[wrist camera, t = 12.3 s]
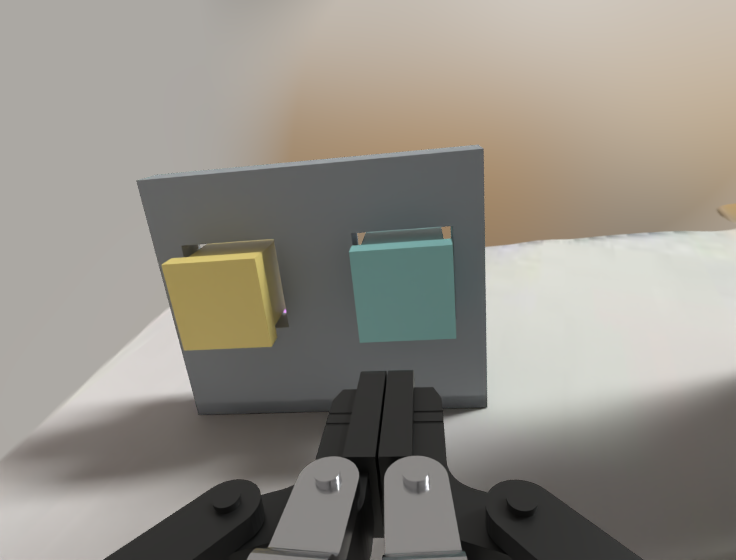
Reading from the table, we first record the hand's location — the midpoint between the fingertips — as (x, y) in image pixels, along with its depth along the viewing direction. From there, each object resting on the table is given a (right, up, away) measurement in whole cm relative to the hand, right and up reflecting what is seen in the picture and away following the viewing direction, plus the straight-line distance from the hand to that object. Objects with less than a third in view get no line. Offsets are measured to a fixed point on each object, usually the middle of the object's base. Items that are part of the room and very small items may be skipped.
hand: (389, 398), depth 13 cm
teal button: (+2, +2, +12) cm, 12 cm away
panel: (-2, -3, +16) cm, 17 cm away
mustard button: (-7, +1, +13) cm, 15 cm away
